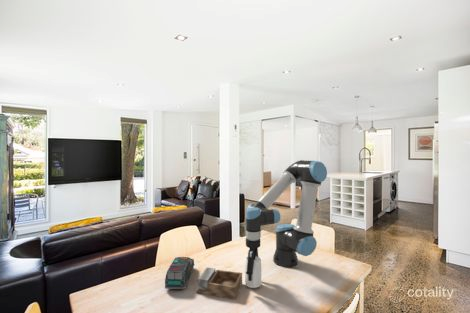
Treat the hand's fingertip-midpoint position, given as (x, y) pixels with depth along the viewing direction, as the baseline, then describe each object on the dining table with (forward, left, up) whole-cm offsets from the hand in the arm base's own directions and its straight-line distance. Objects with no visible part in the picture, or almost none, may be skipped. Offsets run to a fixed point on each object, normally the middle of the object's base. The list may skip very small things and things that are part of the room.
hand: (252, 279), depth 123 cm
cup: (0, 0, -4) cm, 4 cm away
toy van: (+40, +2, -4) cm, 40 cm away
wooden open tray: (+16, +6, -4) cm, 17 cm away
